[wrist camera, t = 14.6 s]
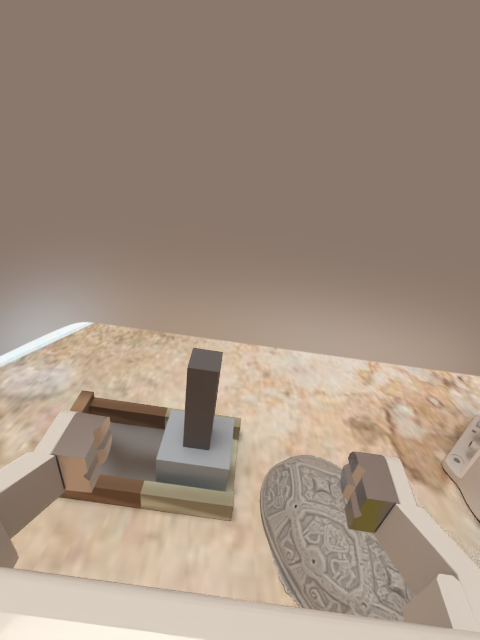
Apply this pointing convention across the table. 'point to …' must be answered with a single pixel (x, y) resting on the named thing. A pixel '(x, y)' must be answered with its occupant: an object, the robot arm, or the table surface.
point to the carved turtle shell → (326, 544)
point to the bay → (147, 463)
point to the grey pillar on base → (197, 431)
